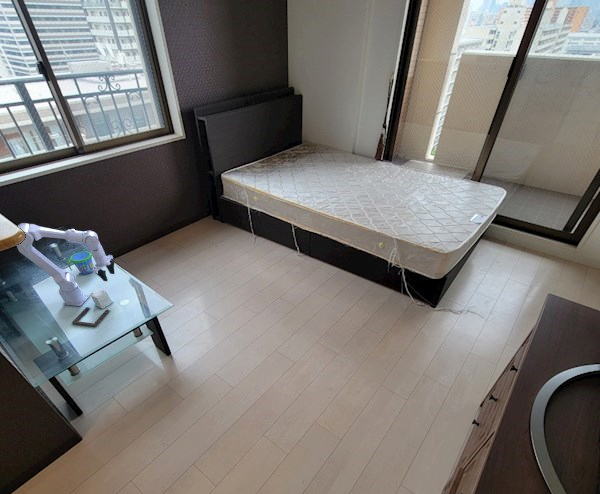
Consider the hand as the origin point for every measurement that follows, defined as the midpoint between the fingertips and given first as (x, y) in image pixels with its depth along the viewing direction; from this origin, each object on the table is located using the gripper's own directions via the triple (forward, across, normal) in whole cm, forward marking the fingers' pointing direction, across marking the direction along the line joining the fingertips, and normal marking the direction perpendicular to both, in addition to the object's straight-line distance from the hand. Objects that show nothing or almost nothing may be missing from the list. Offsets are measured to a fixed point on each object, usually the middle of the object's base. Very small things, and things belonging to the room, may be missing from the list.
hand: (109, 277), depth 180 cm
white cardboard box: (+10, -11, 0) cm, 15 cm away
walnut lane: (+9, -21, 0) cm, 23 cm away
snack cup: (+10, +15, +27) cm, 32 cm away
